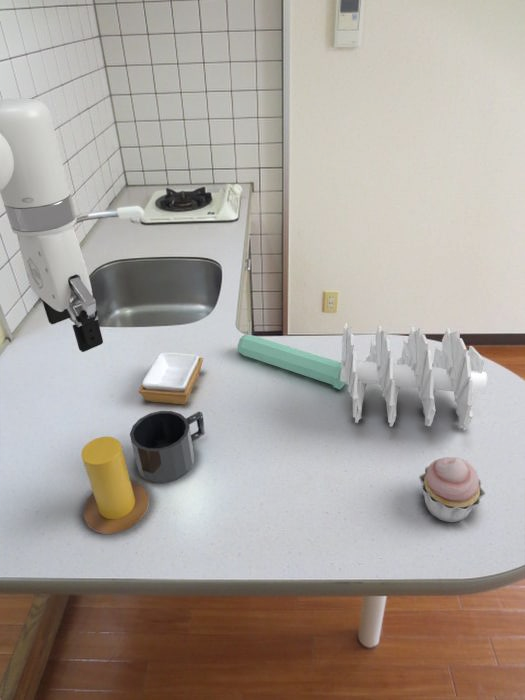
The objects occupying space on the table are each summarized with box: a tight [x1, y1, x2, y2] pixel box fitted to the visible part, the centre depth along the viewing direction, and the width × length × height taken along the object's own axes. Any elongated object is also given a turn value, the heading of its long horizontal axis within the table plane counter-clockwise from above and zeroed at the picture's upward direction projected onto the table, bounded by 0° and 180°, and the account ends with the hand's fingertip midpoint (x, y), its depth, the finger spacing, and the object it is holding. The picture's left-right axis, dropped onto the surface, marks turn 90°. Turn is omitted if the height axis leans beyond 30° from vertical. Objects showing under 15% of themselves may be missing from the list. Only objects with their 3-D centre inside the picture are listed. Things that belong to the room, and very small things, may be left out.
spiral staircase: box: [340, 322, 488, 431], centre depth 93 cm, size 18×18×25 cm
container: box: [237, 333, 346, 391], centre depth 110 cm, size 6×6×25 cm
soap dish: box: [137, 351, 204, 405], centre depth 106 cm, size 12×10×5 cm
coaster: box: [83, 480, 150, 535], centre depth 83 cm, size 10×10×1 cm
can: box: [80, 436, 135, 519], centre depth 79 cm, size 6×6×12 cm
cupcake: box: [418, 456, 486, 523], centre depth 78 cm, size 9×9×10 cm
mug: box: [129, 410, 206, 484], centre depth 89 cm, size 13×10×8 cm
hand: (75, 333), depth 73 cm, fingers open, 9 cm apart
